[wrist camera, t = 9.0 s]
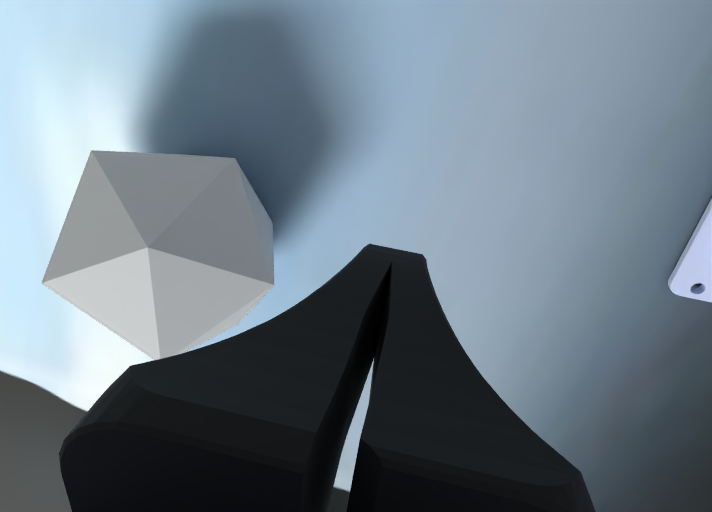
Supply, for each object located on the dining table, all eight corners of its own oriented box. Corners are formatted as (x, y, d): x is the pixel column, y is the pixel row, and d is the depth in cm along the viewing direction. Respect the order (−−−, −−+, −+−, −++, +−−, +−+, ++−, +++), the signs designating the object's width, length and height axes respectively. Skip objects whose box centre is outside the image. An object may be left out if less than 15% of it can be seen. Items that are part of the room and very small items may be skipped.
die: (109, 202, 26) (77, 392, 22) (50, 75, 19) (-17, 328, 14) (271, 207, 28) (269, 386, 24) (277, 92, 20) (277, 325, 16)
